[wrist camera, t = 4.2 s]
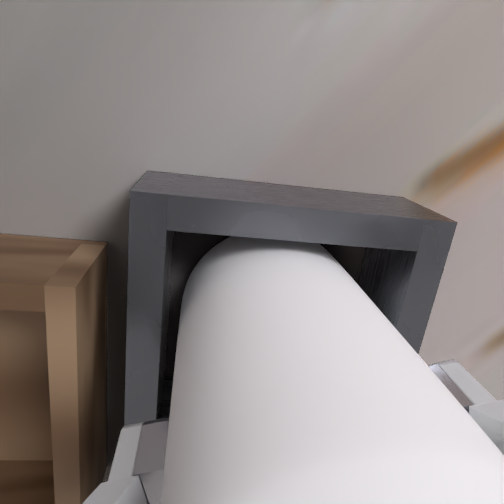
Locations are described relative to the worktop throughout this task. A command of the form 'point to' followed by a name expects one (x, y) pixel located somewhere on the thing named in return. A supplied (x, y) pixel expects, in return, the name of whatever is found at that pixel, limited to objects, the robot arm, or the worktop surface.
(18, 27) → the worktop surface
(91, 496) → the robot arm
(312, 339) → the can
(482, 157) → the worktop surface
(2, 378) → the box
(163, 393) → the tray
